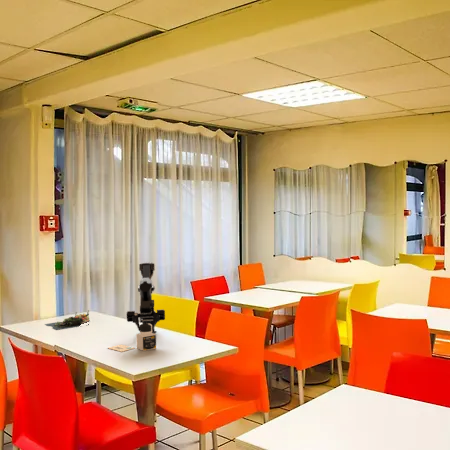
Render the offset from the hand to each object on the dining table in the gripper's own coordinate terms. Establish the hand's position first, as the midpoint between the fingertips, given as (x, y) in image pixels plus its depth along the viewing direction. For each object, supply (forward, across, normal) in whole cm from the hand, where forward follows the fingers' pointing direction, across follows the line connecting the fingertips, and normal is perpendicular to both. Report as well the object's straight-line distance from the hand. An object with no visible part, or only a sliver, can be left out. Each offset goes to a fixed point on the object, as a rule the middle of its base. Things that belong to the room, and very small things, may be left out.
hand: (145, 330), depth 252 cm
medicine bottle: (+6, 0, +7) cm, 9 cm away
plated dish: (-42, -46, +56) cm, 84 cm away
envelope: (+4, -12, +9) cm, 16 cm away
